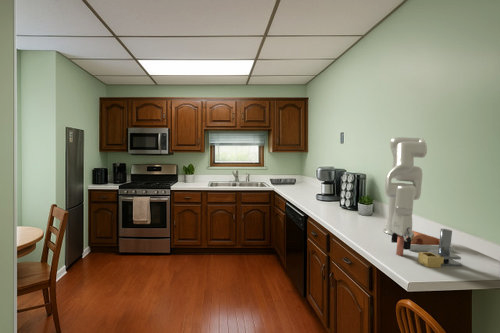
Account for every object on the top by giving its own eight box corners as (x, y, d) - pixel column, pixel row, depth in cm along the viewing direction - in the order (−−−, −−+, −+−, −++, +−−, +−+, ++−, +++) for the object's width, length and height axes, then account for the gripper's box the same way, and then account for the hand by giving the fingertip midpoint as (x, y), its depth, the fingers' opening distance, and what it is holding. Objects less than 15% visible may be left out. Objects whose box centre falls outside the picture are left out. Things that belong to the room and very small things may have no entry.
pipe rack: (396, 242, 156) (396, 237, 155) (436, 244, 157) (437, 238, 157) (409, 250, 144) (410, 244, 144) (453, 251, 146) (453, 246, 146)
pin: (394, 253, 139) (396, 233, 138) (400, 253, 139) (402, 233, 138) (398, 255, 136) (400, 235, 135) (404, 255, 136) (406, 235, 135)
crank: (411, 249, 147) (412, 234, 147) (402, 244, 155) (403, 229, 154) (447, 250, 148) (448, 235, 148) (436, 244, 156) (437, 231, 156)
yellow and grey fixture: (409, 256, 136) (412, 226, 135) (445, 257, 137) (448, 227, 136) (427, 267, 124) (430, 233, 123) (465, 268, 125) (469, 235, 124)
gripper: (386, 207, 144) (383, 239, 145) (407, 215, 127) (403, 252, 128) (400, 207, 145) (397, 240, 146) (422, 215, 128) (419, 252, 129)
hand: (400, 245), depth 137 cm, fingers open, 9 cm apart
